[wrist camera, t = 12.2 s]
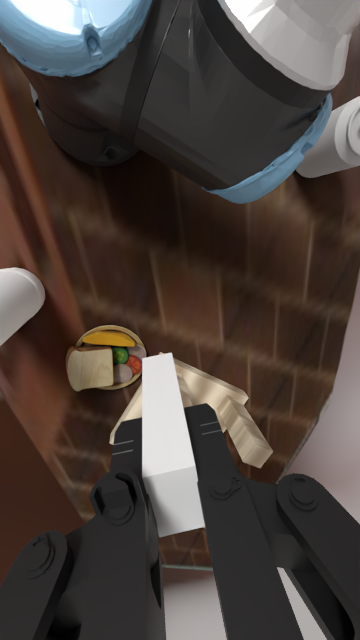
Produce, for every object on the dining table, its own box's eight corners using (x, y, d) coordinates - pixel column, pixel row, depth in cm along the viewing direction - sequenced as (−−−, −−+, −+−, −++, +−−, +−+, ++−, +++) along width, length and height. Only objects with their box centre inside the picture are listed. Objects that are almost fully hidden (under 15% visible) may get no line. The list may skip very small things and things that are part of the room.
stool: (110, 433, 53) (103, 510, 39) (160, 351, 49) (173, 403, 35) (193, 461, 60) (214, 536, 45) (243, 390, 56) (283, 447, 41)
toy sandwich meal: (141, 387, 52) (142, 402, 47) (66, 384, 49) (60, 399, 44) (150, 327, 48) (152, 337, 43) (69, 318, 45) (63, 328, 40)
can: (325, 180, 45) (390, 165, 34) (284, 176, 43) (338, 159, 32) (335, 128, 42) (409, 92, 31) (292, 122, 41) (354, 83, 30)
